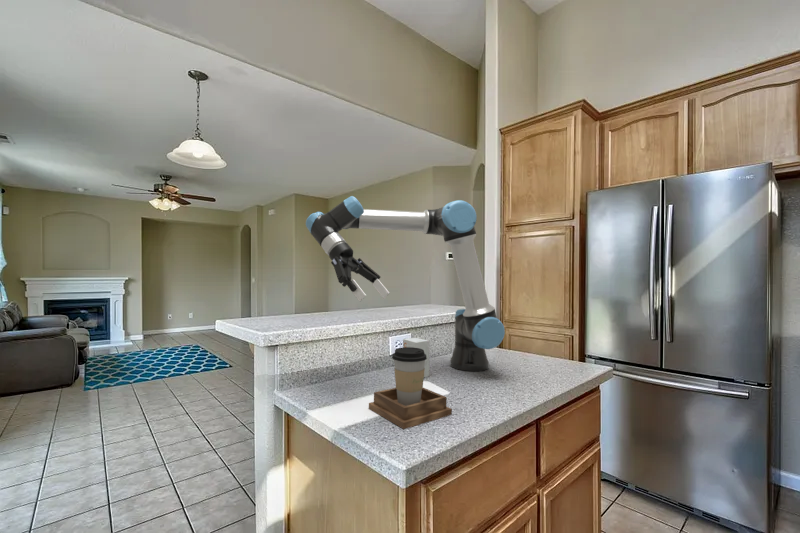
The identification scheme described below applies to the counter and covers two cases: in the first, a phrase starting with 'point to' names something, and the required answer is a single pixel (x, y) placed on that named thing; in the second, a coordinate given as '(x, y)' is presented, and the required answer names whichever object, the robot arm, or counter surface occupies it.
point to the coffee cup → (409, 374)
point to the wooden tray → (410, 408)
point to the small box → (422, 345)
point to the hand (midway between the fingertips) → (375, 297)
